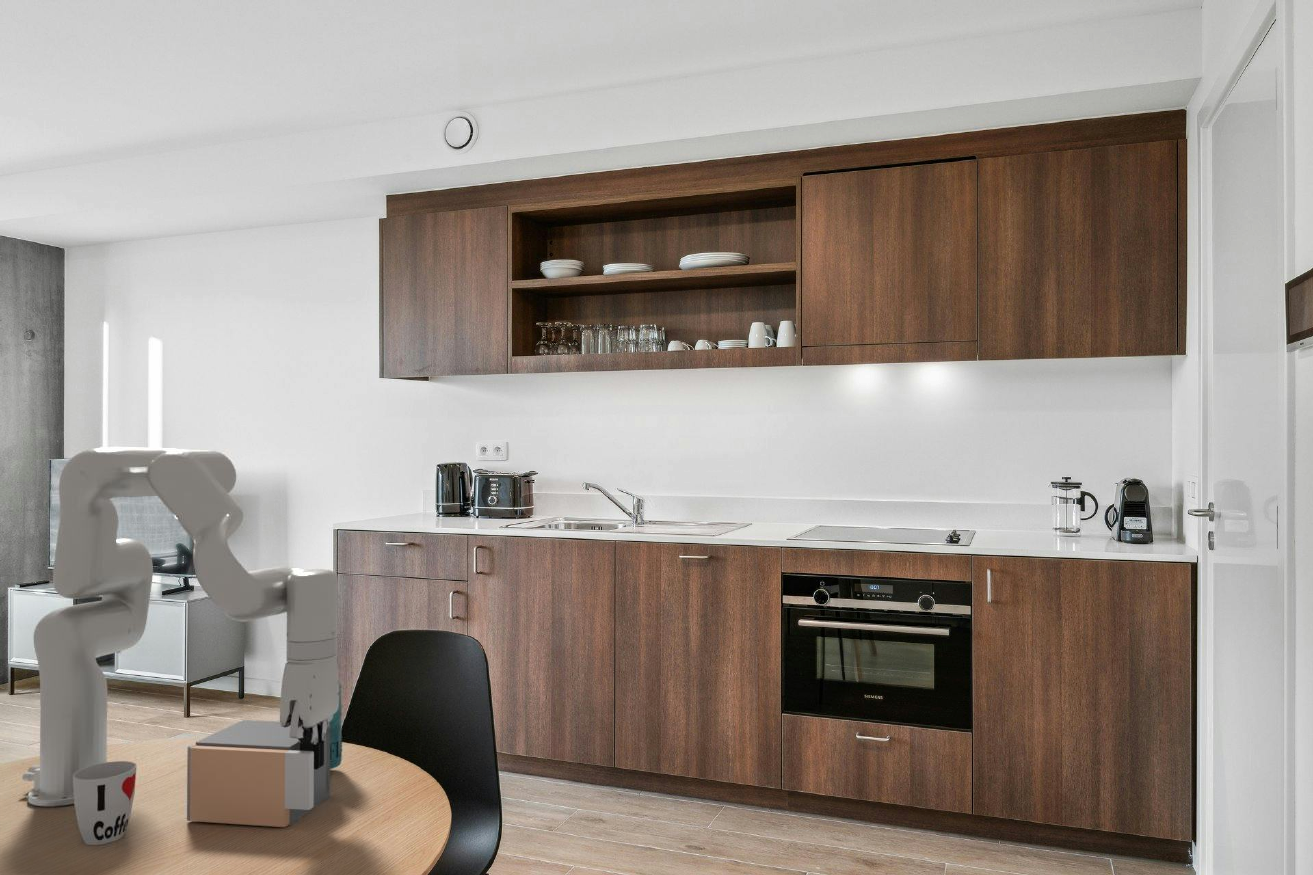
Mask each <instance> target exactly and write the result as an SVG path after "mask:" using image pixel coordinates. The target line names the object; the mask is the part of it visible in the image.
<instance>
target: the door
mask: <svg viewBox="0 0 1313 875" xmlns="http://www.w3.org/2000/svg"><path fill="white" fill-rule="evenodd" d="M186 752H187V753H186V754H187V757H186V758H187V760H186V763H187V765H186V770H187V771H186V773H187V774H186V821H188V822H200V823H214V824H215V823H216V824H231V825H248V826H262V827H276V828H278V827H280V828H285V827H287V825H288V824H289V809H302V810H310V809H311V808H313V807H314V751H295V750H275V749H255V748H234V747H214V746H196V745H189V746H187V751H186ZM314 808H315V807H314ZM314 808H313V809H314ZM310 811H311V810H310Z"/></svg>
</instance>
